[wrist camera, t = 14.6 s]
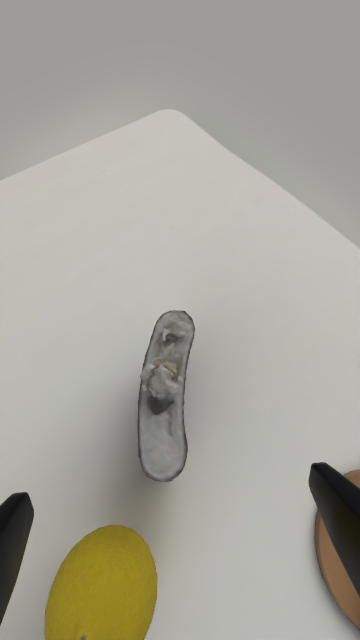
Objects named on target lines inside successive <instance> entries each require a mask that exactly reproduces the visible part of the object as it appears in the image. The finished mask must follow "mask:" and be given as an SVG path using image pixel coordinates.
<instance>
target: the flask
mask: <svg viewBox="0 0 360 640" xmlns="http://www.w3.org/2000/svg"><path fill="white" fill-rule="evenodd" d="M194 332H195V326H194V323H193V320H192V318H191V317H190V316H189V315H188V314H187V313H186V312H185V311H169V312H166V313H164V314H162V315H161V317H160V318H159V319H158V320H157V322H156V325H155V327H154V330H153V334H152V336H151V340H150V344H149V347H148V350H147V352H146V355H145V360H144V364H143V369H142V373H141V376H140V377H141V384H140V392H139V400H138V448H139V458H140V461H141V466H142V469H143V471H144V473H145V474H146V475H147V476H148V477H150V478H152V479H153V480H155V481H161V482H169V481H172V480H173V479H174V478H176V477H177V476H178V475H179V474H180V473H181V472H182V470H183V468H184V466H185V462H186V458H187V451H188V446H187V440H186V434H185V427H184V416H183V413H184V412H183V405H184V392H185V380H186V369H187V364H188V358H189V354H190V349H191V346H192V342H193V338H194Z"/></svg>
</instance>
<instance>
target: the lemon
mask: <svg viewBox="0 0 360 640" xmlns="http://www.w3.org/2000/svg"><path fill="white" fill-rule="evenodd" d="M156 599H157V573H156V568H155V563H154V558H153V556H152V554H151V551H150V549H149V547H148V545H147V544H146V542H145V541H144V540H143V538H142V537H141V536H140V535H139V534H137V533H136V532H135V531H133V530H132V529H130V528H127V527H124V526H121V525H109V526H106V527H102V528H98V529H97V530H95V531H93V532H91V533H90V534H88V535H86V536H85V537H84V538H83V539H82V540H81V541H80V542H79V543H77V544H76V545H75V546H74V547H73V548H72V550H71V551H70V553H69V554H68V555H67V557H66V558H65V560H64V561H63V563H62V564H61V566H60V568H59V570H58V573H57V575H56V577H55V580H54V582H53V584H52V587H51V590H50V593H49V598H48V602H47V607H46V611H45V638H46V640H144V639H145V636H146V634H147V631H148V629H149V626H150V624H151V621H152V618H153V613H154V608H155V604H156Z"/></svg>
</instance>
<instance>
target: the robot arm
mask: <svg viewBox="0 0 360 640" xmlns="http://www.w3.org/2000/svg"><path fill="white" fill-rule="evenodd" d="M309 487H310V490H311V493H312V495H313V498H314V500H315V503H316V505H317V508H318V510H319V513H320V515H321V518H322V520H323V523H324V525H325V528H326V530H327V532H328V535H329V537H330V540H331V542H332V544H333V546H334V548H335V550H336V552H337V554H338V556H339V558H340V560H341V562H342V564H343V566H344V568H345V570H346V572H347V574H348V576H349V578H350V580H351V582H352V584H353V586H354V588H355V590H356V592H357V594H358V596H359V598H360V488H359V487H358V486H356V485H355V484H354V483H352V482H351V481H350V480H348V479H347V478H346V477H344V476H343V475H342V474H340V473H339V472H338V471H336V470H335V469H334V468H332V467H331V466H330V465H328V464H327V463H324V462H320V463H313V464H312V465H311V470H310V476H309ZM33 518H34V509H33V506H32V503H31V500H30V497H29V494H28V493H27V492H22V493H14V494H12V495H11V496H10V497H8V498H7V499H6V500H5V501H4V502H3V503H2V504H1V505H0V625H1V622H2V619H3V617H4V614H5V611H6V608H7V606H8V603H9V600H10V597H11V595H12V592H13V589H14V586H15V583H16V580H17V577H18V573H19V570H20V566H21V562H22V559H23V555H24V551H25V548H26V544H27V540H28V537H29V533H30V529H31V526H32V522H33Z"/></svg>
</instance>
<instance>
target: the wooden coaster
mask: <svg viewBox="0 0 360 640" xmlns="http://www.w3.org/2000/svg"><path fill="white" fill-rule="evenodd" d="M343 476H344V477H346V478H347V479H348V480H350V481H351V482H352V483H354V484H355V485H356V486H358V487H359V488H360V470H355V471H351V472H349V473H347V474H344V475H343ZM315 544H316V552H317V557H318V561H319V565H320V568H321V572H322V575H323V577H324V580H325V582H326V584H327V587H328V589H329V591H330V593H331V594H332V596H333V598H334V600H335V601H336V603H337V604H338V606H339V607H340V609H341V610H342V611H343V613H344V614H345V615H346V616H347V618H348V619H349V620H350V621H351V622H352V623H353V624H354V625H355V626H356V627H357V628H358V629H359V630H360V598H359V596H358V594H357V592H356V590H355V588H354V586H353V584H352V582H351V580H350V578H349V576H348V574H347V572H346V570H345V568H344V566H343V564H342V562H341V560H340V558H339V556H338V554H337V552H336V550H335V548H334V546H333V544H332V542H331V540H330V537H329V535H328V532H327V530H326V528H325V525H324V523H323V520H322V518H321V515H320V513H319V510H318V512H317V516H316V523H315Z"/></svg>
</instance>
